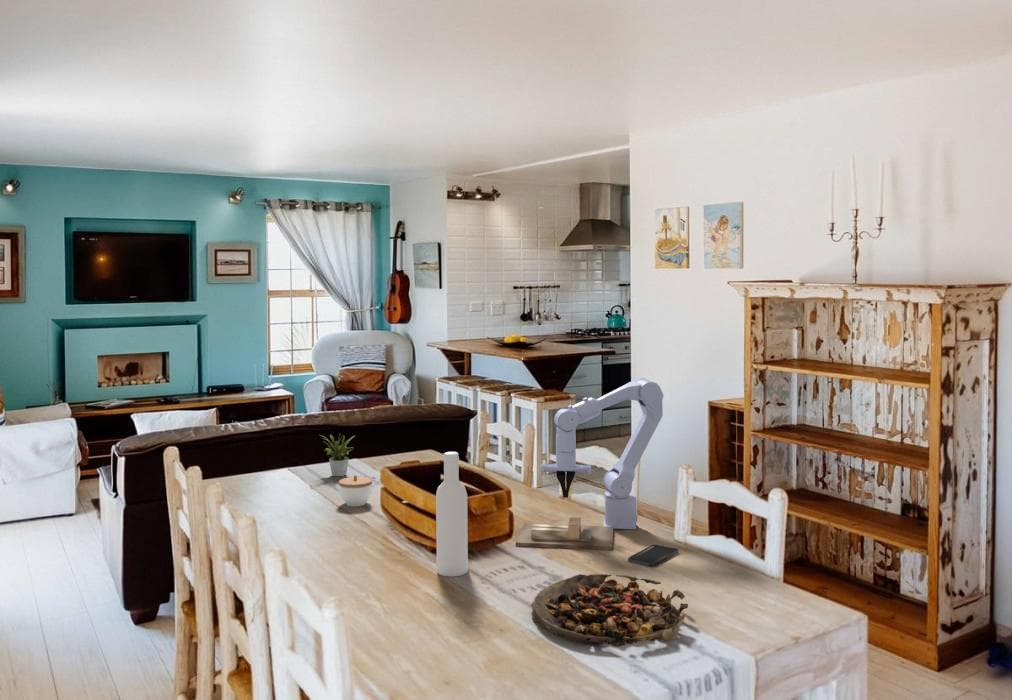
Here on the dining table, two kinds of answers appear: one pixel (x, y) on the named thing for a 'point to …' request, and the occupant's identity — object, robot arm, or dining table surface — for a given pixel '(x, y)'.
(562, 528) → the bar
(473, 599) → the dining table surface
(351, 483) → the lidded jar
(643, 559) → the phone
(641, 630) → the food dish
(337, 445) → the house plant
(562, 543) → the tongs base
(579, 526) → the brown rectangular block
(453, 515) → the bottle
